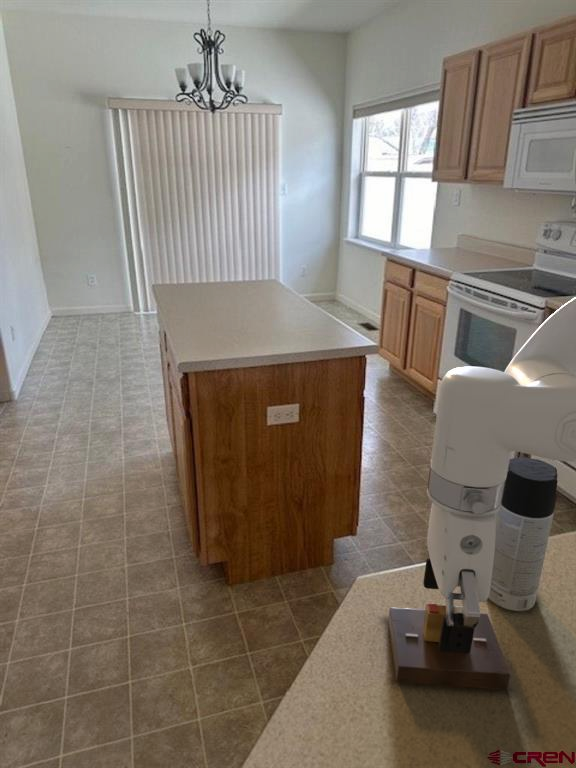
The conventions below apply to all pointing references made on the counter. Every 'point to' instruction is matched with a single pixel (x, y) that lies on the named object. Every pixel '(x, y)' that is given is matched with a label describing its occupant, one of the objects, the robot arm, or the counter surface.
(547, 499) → the spray can
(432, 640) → the block
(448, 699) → the counter surface
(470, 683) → the plate
